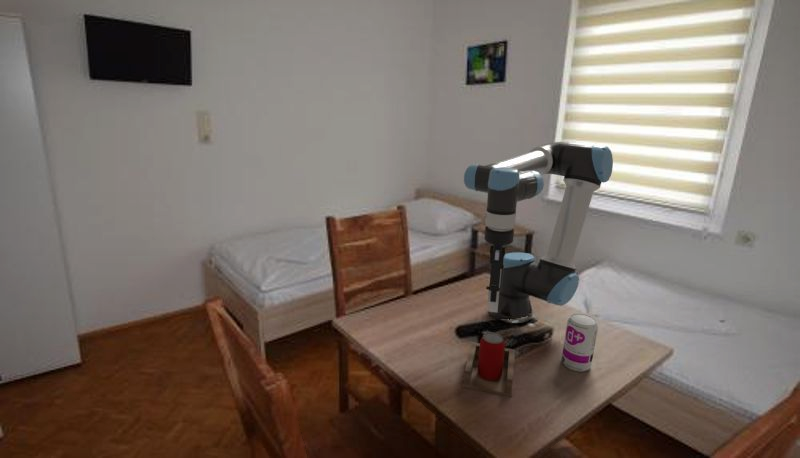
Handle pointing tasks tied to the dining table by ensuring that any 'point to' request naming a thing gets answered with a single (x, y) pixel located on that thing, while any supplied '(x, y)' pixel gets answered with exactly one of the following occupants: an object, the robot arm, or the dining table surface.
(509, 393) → the walnut U-rest
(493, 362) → the beverage can
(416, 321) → the dining table surface
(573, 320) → the supplement can
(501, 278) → the robot arm
